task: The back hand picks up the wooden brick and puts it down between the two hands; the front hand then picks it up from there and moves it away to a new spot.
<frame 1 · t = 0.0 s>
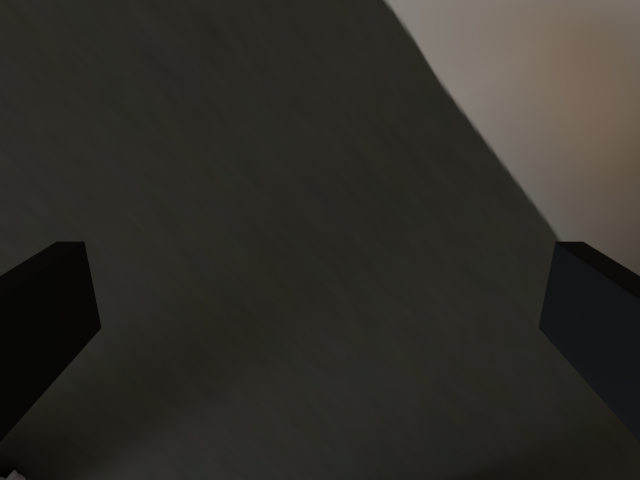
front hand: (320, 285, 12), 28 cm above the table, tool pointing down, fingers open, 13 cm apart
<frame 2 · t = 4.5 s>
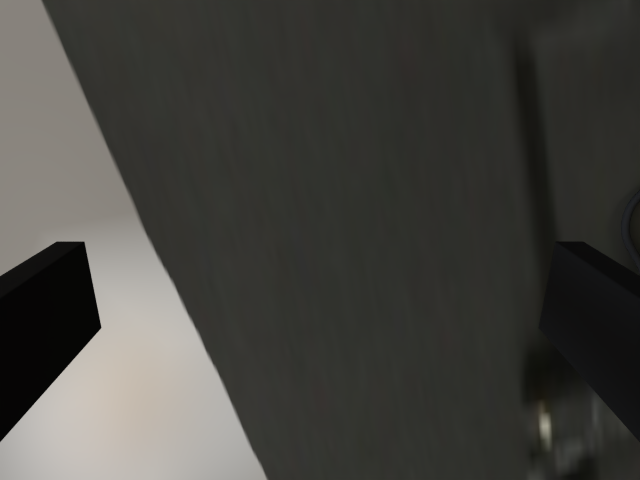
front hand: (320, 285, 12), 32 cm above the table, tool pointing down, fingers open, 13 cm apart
when the back hand's fingers open (2 cm above the table, at t = 13.6 s): brick drops 1 cm, on the table.
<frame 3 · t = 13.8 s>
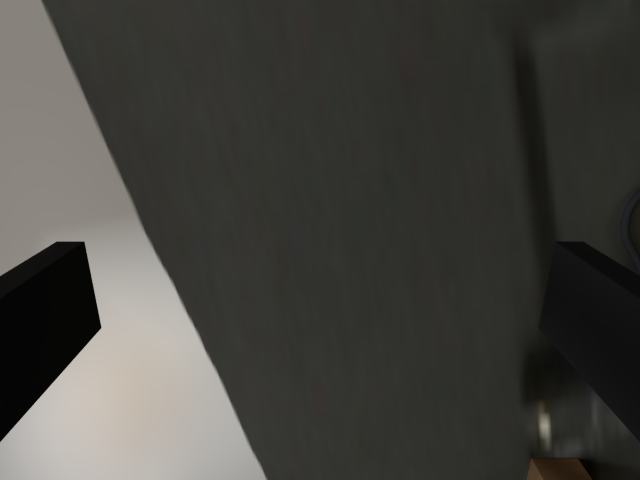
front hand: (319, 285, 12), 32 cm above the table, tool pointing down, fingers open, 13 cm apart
brick: (549, 477, 58), on the table
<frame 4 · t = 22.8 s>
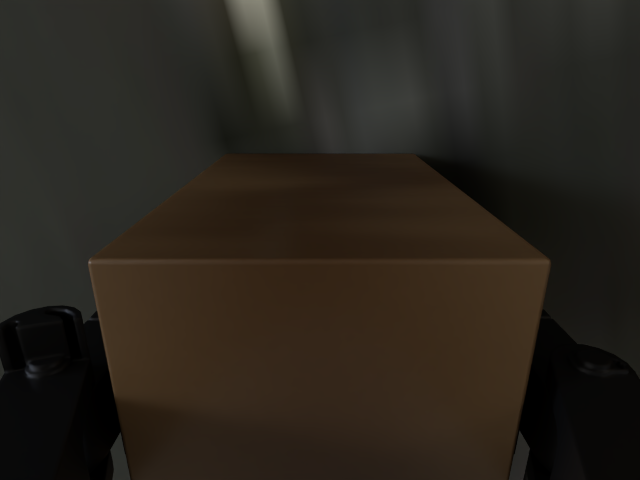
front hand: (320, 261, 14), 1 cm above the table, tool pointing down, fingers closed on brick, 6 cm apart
brick: (320, 248, 15), on the table, touching front hand
when the front hand's fingers open (2 cm above the table, at t = 30.7 s): brick drops 1 cm, on the table.
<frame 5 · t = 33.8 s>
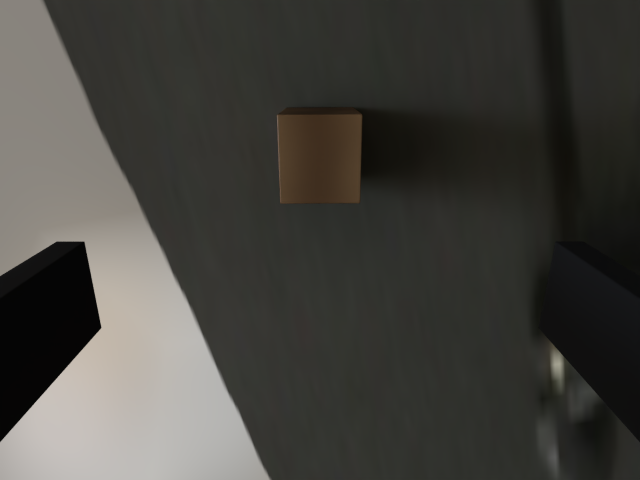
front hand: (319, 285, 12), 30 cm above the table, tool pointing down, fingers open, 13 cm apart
brick: (320, 144, 40), on the table
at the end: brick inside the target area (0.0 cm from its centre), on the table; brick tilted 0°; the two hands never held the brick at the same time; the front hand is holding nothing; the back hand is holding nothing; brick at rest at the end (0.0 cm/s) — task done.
